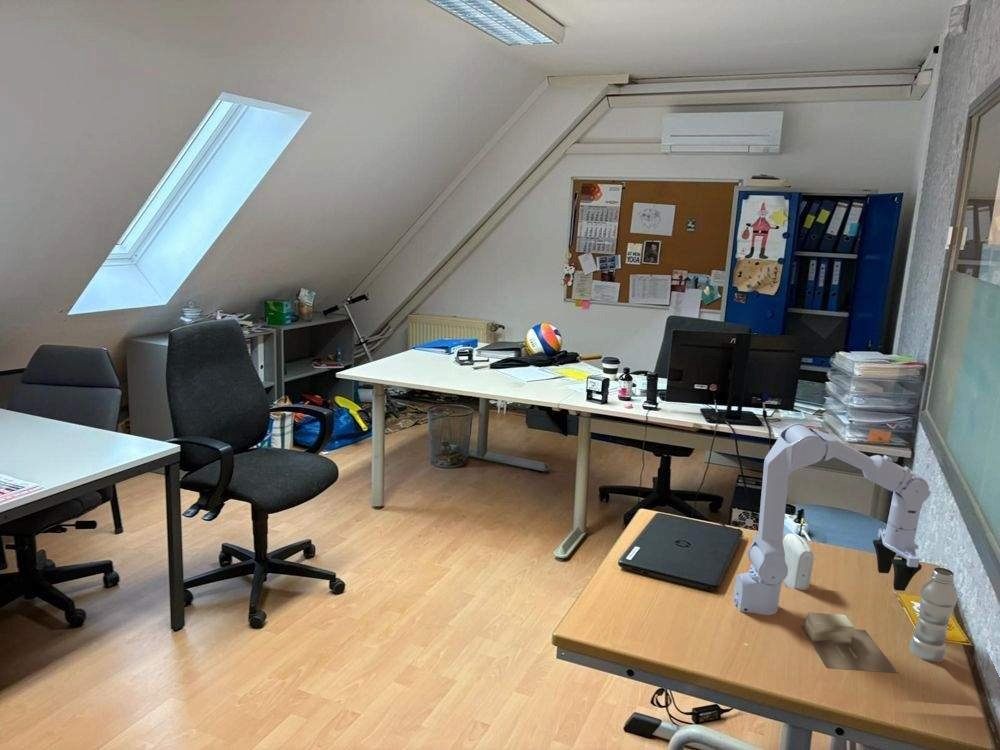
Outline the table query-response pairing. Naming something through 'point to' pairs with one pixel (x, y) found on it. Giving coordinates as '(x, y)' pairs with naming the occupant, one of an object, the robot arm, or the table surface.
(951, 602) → the plastic bottle
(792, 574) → the photo printer
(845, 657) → the grey flat square block
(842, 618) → the block
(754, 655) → the table surface
